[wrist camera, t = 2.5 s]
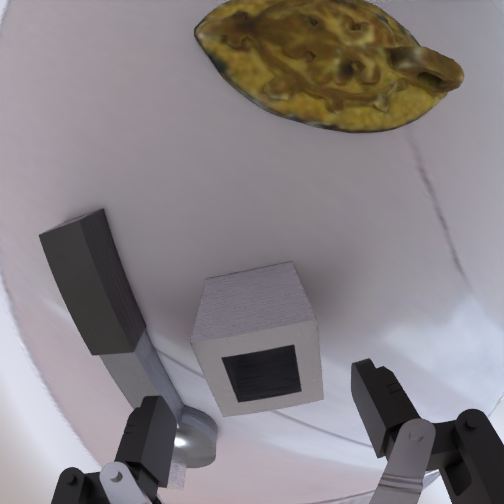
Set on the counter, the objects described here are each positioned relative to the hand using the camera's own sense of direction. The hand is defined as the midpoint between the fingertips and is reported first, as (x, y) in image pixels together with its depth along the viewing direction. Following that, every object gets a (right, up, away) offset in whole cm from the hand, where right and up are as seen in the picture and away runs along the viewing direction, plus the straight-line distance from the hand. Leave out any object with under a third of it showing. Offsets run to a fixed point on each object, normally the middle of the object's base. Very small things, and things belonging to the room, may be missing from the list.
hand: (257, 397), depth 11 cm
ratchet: (-8, -2, +8) cm, 12 cm away
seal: (+4, +17, +2) cm, 18 cm away
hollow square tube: (0, +3, +7) cm, 7 cm away
